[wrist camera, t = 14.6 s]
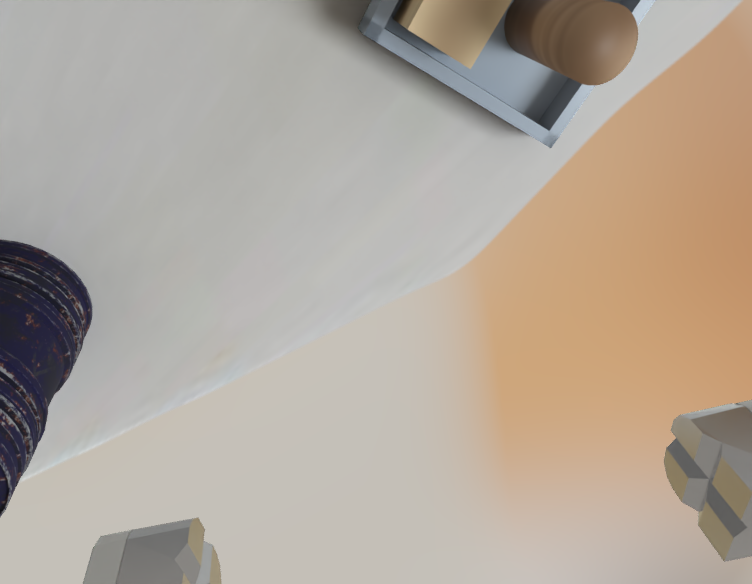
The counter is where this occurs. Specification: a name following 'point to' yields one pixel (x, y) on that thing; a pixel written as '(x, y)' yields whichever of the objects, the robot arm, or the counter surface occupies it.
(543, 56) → the brown wooden peg
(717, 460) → the robot arm
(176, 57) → the counter surface
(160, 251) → the counter surface
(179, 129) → the counter surface
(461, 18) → the oak block
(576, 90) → the tray
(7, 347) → the dark blue cylinder
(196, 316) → the counter surface
